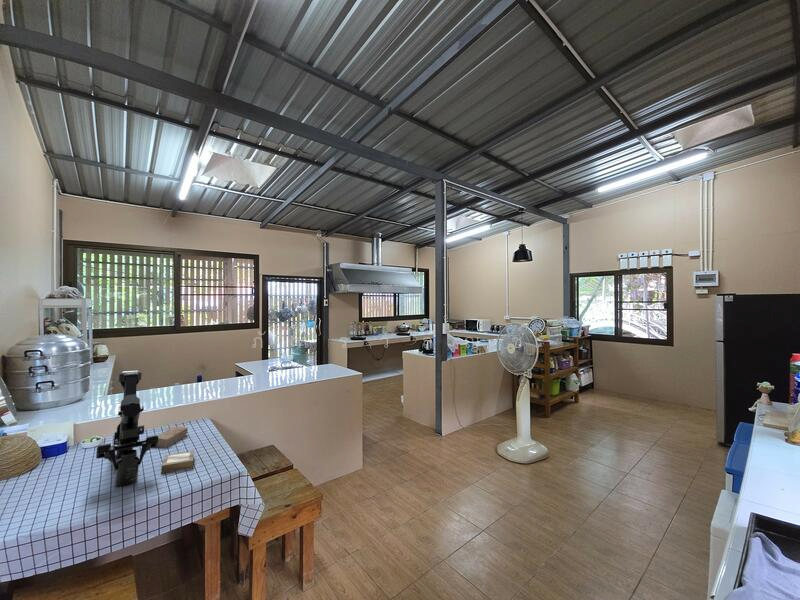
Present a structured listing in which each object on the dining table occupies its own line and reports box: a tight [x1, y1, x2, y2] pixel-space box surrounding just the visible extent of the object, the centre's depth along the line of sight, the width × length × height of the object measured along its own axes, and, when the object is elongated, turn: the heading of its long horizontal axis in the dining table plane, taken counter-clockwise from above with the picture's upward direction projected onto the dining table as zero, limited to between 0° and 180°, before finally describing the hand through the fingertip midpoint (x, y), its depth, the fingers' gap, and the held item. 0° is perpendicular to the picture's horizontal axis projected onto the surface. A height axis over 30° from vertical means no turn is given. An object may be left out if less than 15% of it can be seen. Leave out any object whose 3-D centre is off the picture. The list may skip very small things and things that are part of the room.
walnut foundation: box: [160, 450, 195, 474], centre depth 139 cm, size 11×11×3 cm
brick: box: [156, 426, 189, 448], centre depth 164 cm, size 17×8×5 cm, turn 2°
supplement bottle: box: [114, 449, 140, 488], centre depth 123 cm, size 7×7×12 cm
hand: (127, 467), depth 122 cm, fingers closed on supplement bottle, 7 cm apart
